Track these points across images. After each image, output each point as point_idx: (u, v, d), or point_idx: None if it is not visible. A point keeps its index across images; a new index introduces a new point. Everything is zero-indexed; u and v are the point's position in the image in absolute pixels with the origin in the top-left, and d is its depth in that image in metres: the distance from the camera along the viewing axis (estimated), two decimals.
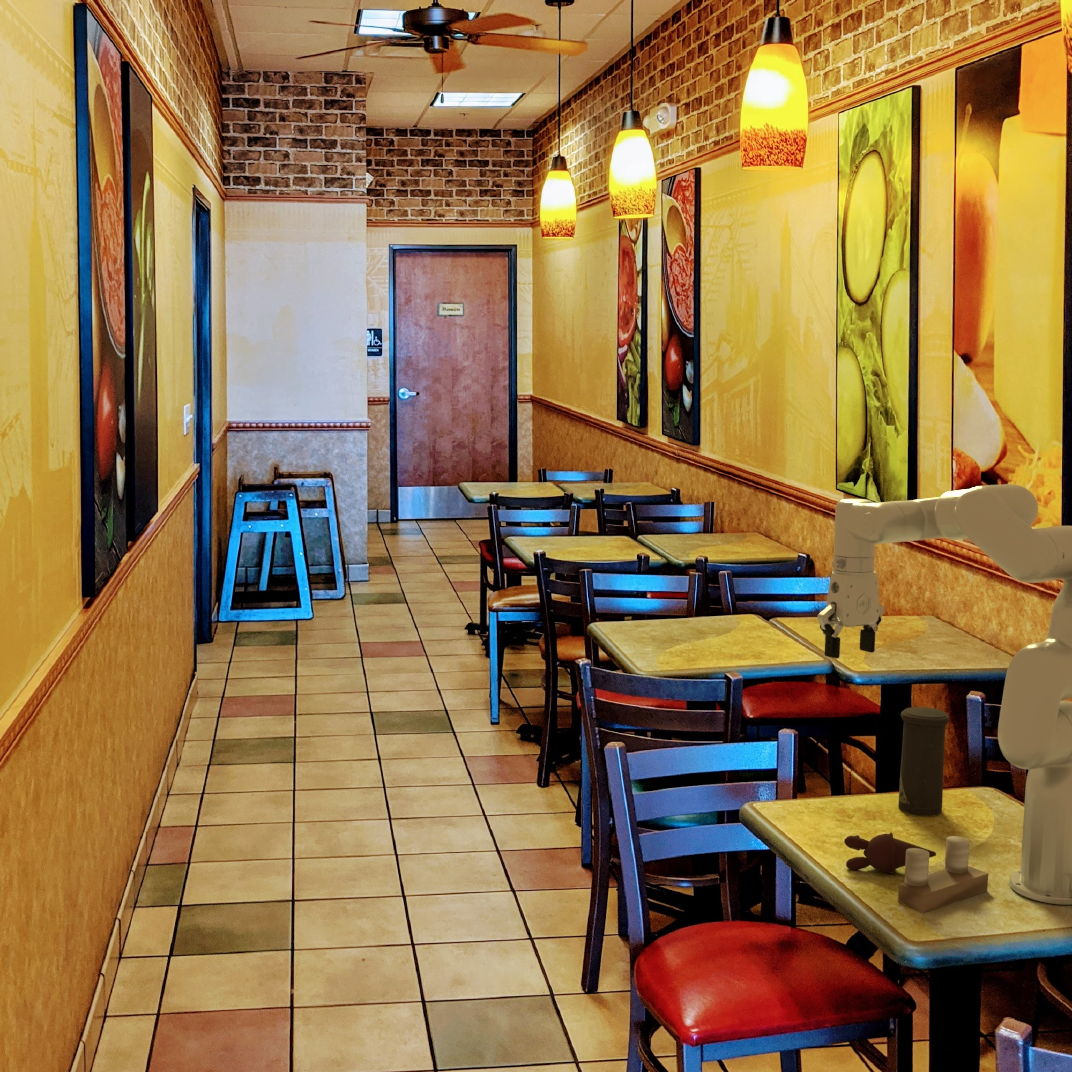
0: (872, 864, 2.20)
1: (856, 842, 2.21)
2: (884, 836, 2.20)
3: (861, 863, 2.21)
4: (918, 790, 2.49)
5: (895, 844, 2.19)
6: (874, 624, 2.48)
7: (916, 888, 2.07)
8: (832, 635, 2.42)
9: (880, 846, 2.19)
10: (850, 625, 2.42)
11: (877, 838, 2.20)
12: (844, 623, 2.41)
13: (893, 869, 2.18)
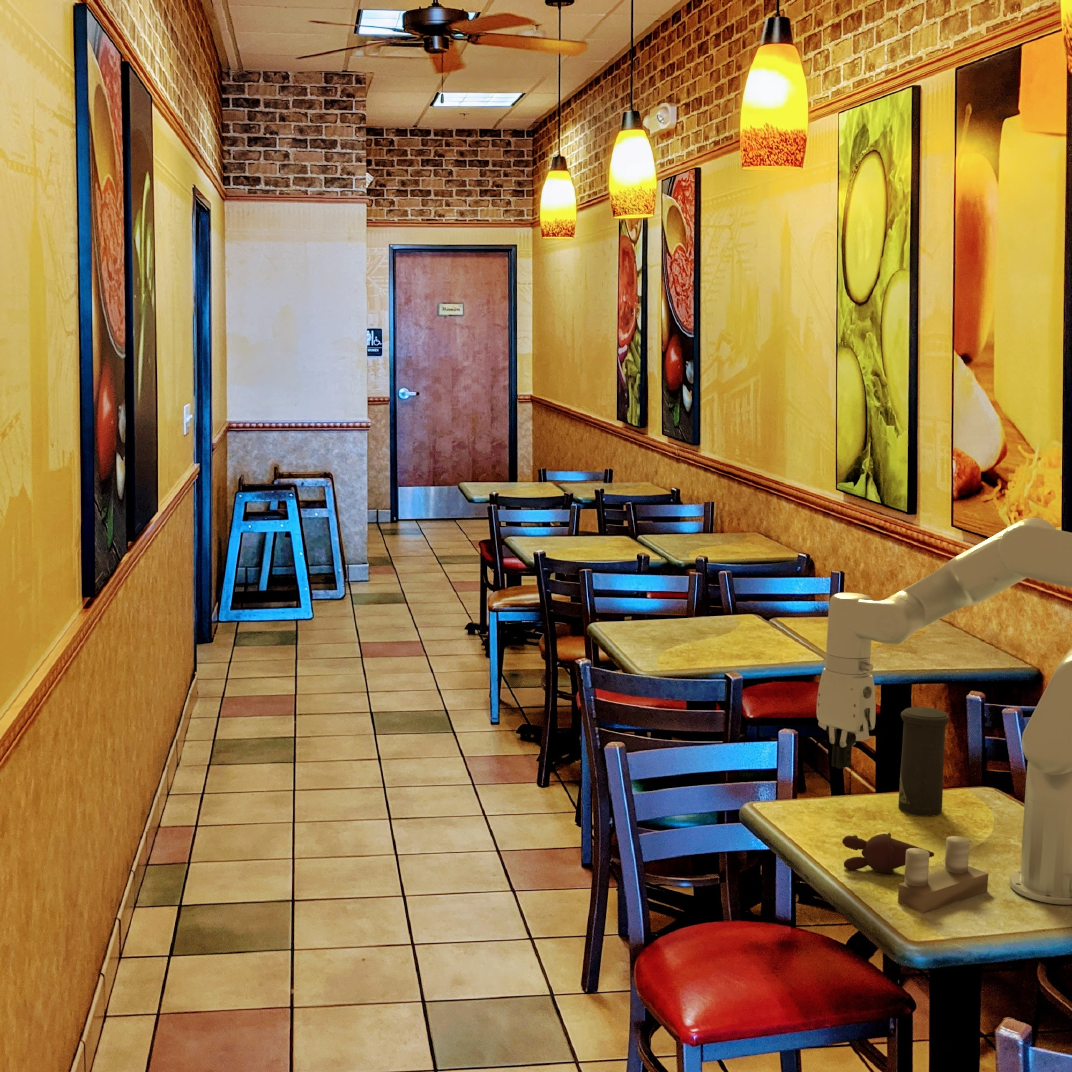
0: (870, 864, 2.20)
1: (854, 842, 2.21)
2: (882, 836, 2.20)
3: (859, 863, 2.21)
4: (918, 790, 2.49)
5: (893, 844, 2.19)
6: None
7: (916, 888, 2.07)
8: None
9: (878, 846, 2.19)
10: None
11: (875, 838, 2.20)
12: None
13: (891, 869, 2.18)
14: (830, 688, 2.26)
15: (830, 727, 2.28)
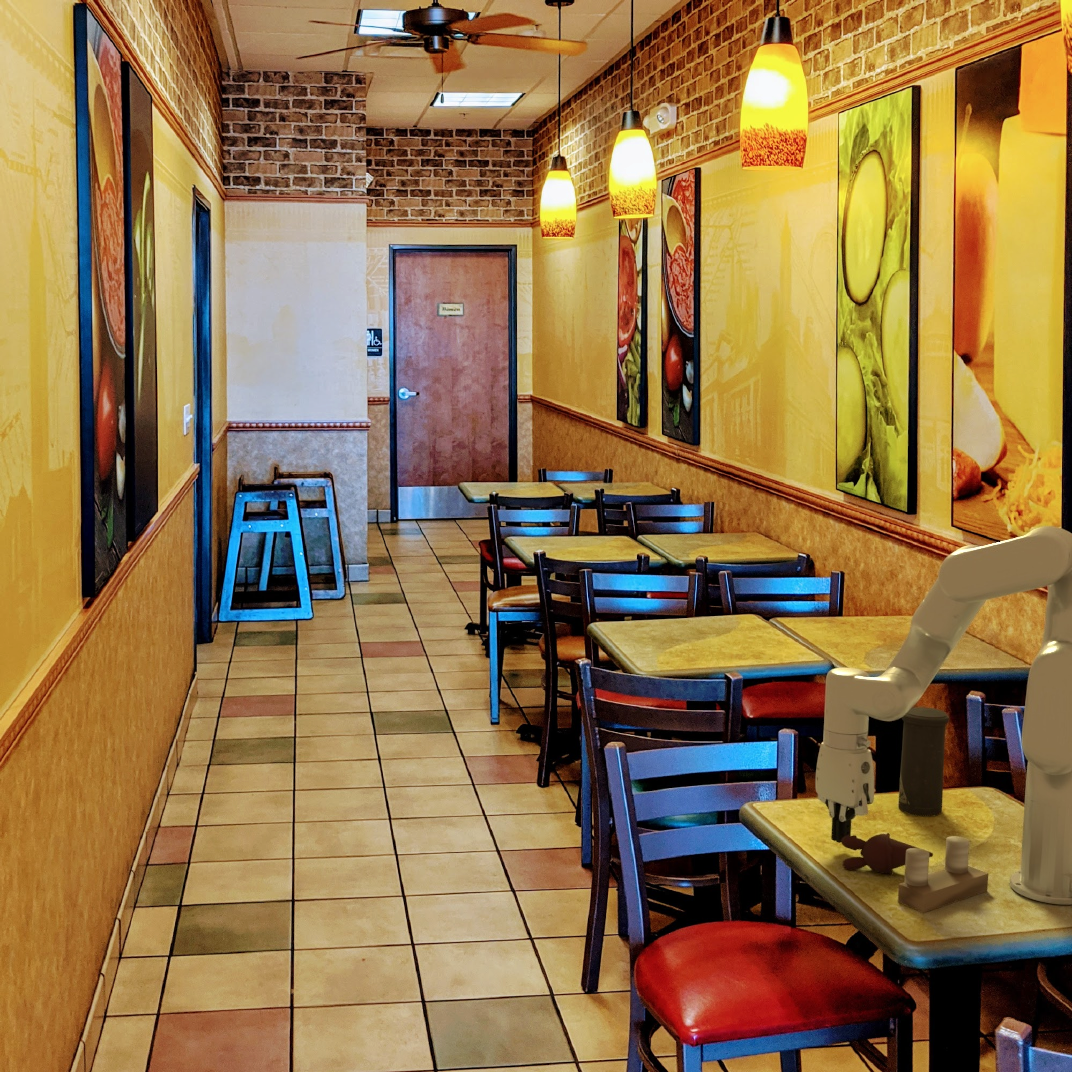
0: (868, 864, 2.20)
1: (852, 842, 2.21)
2: (881, 836, 2.20)
3: (857, 863, 2.21)
4: (918, 790, 2.49)
5: (891, 844, 2.19)
6: None
7: (916, 888, 2.07)
8: None
9: (877, 846, 2.19)
10: None
11: (874, 838, 2.20)
12: None
13: (889, 869, 2.18)
14: (828, 763, 2.28)
15: (829, 801, 2.30)
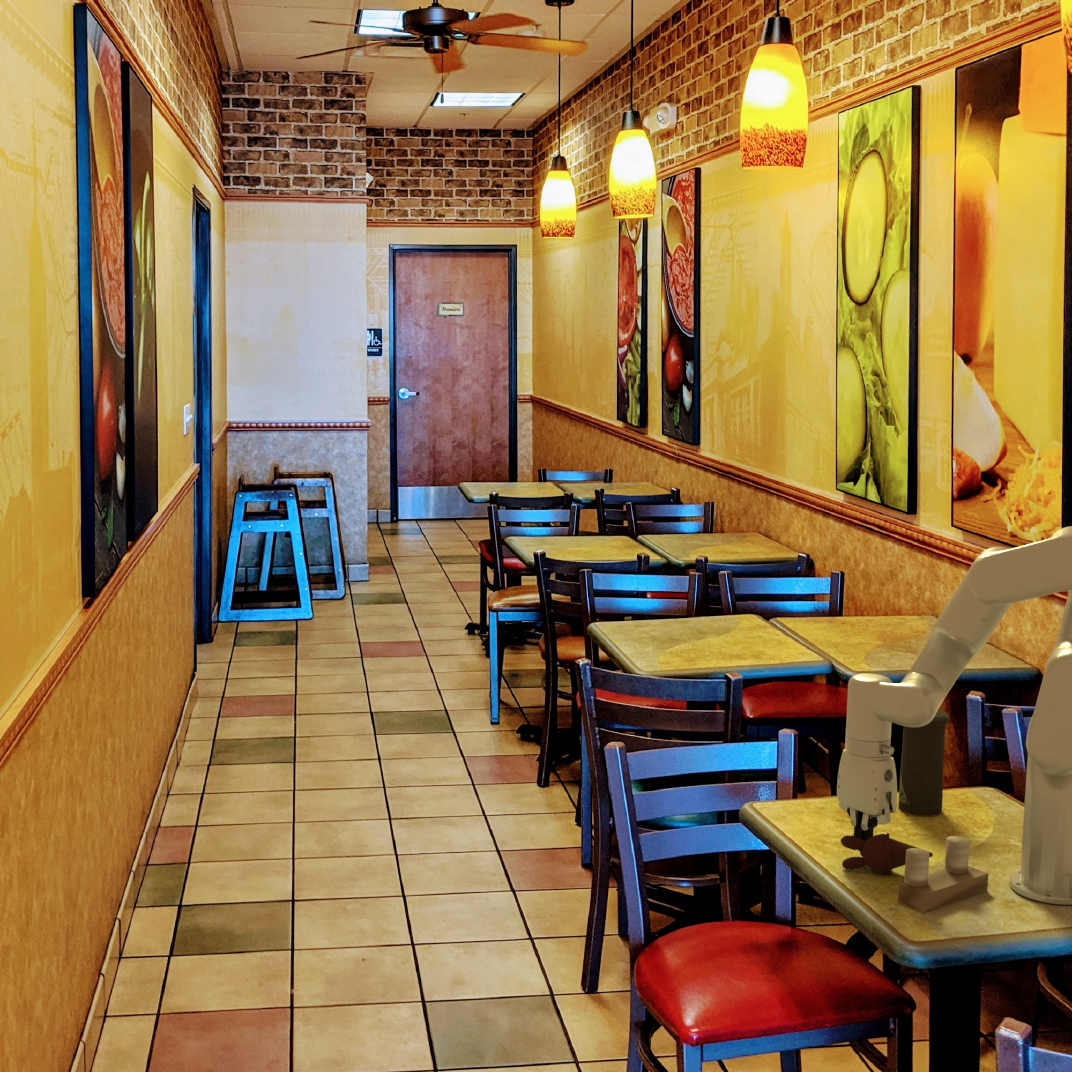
0: (868, 864, 2.20)
1: (852, 842, 2.21)
2: (880, 836, 2.20)
3: (857, 863, 2.20)
4: (918, 790, 2.49)
5: (891, 844, 2.19)
6: None
7: (916, 888, 2.07)
8: (874, 827, 2.25)
9: (876, 846, 2.18)
10: None
11: (873, 838, 2.20)
12: None
13: (889, 869, 2.18)
14: (850, 771, 2.24)
15: (851, 809, 2.26)
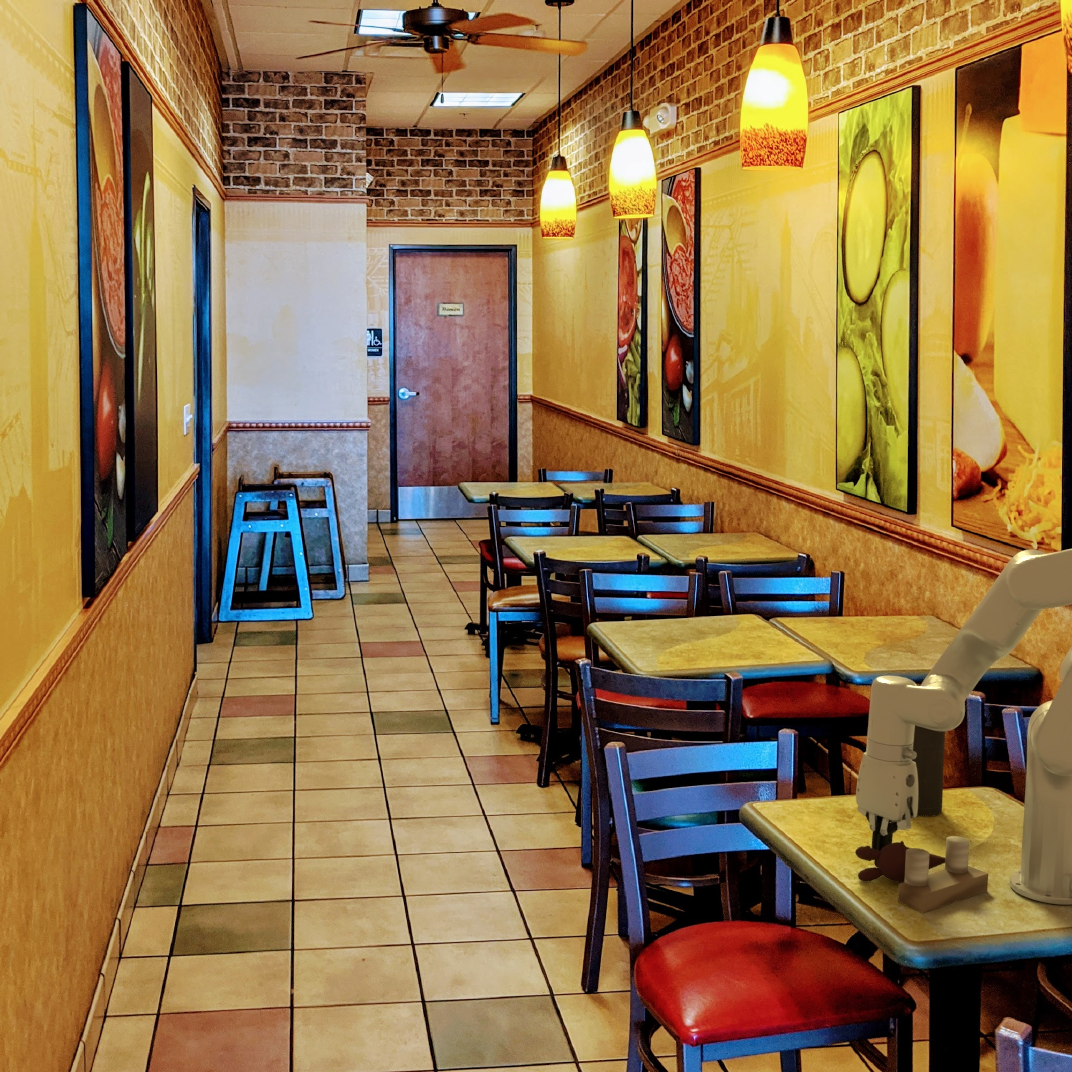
0: (886, 874, 2.15)
1: (868, 852, 2.16)
2: (896, 845, 2.16)
3: (874, 874, 2.16)
4: (918, 790, 2.49)
5: None
6: None
7: (916, 888, 2.07)
8: None
9: (895, 856, 2.14)
10: None
11: (889, 847, 2.16)
12: None
13: None
14: (871, 774, 2.19)
15: (870, 814, 2.21)
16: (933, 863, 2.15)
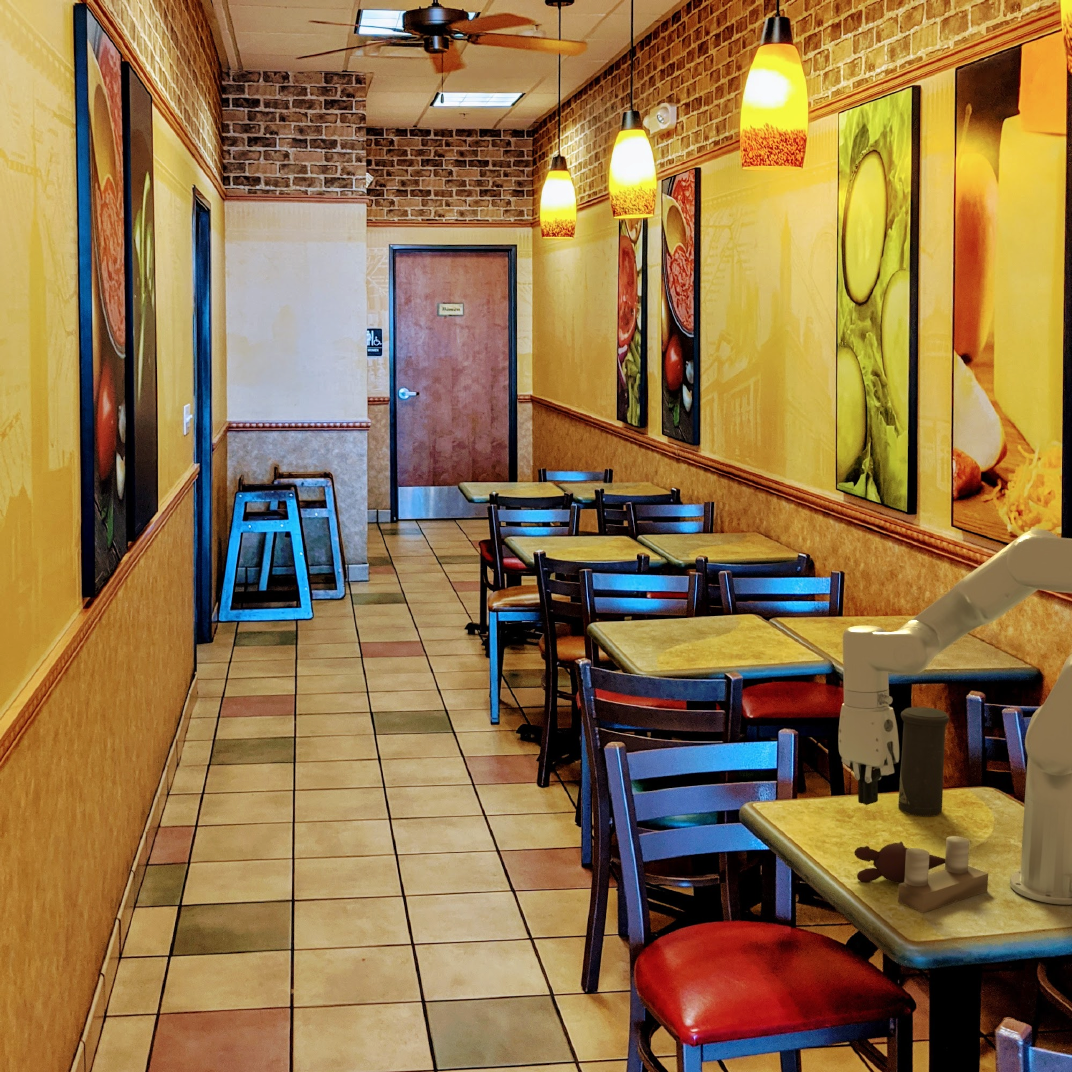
0: (885, 875, 2.15)
1: (867, 853, 2.16)
2: (895, 846, 2.16)
3: (873, 875, 2.16)
4: (918, 790, 2.49)
5: None
6: None
7: (916, 888, 2.07)
8: None
9: (894, 856, 2.14)
10: None
11: (888, 848, 2.16)
12: None
13: None
14: (850, 724, 2.23)
15: (854, 763, 2.25)
16: (932, 864, 2.15)
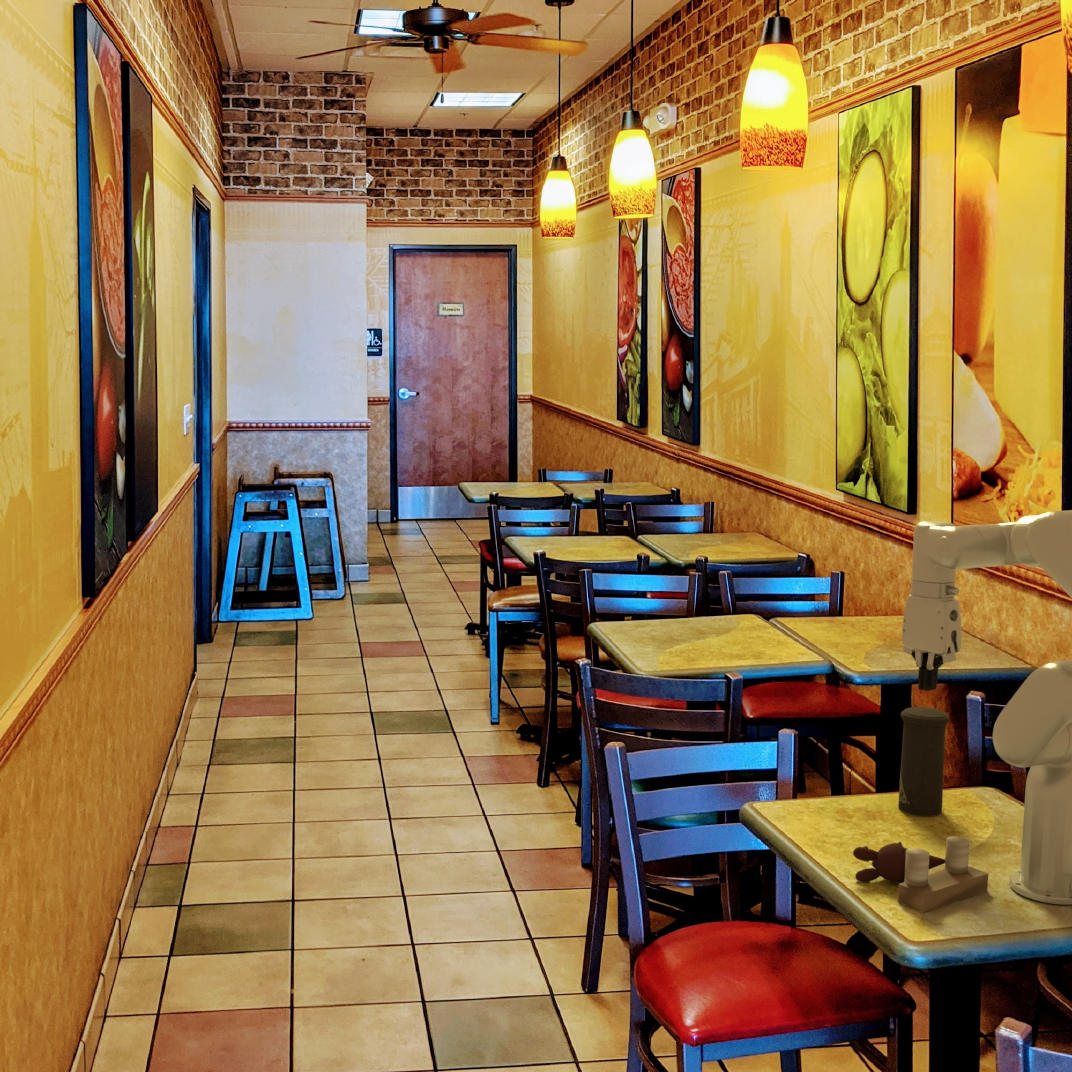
0: (883, 875, 2.15)
1: (866, 853, 2.16)
2: (894, 846, 2.16)
3: (872, 875, 2.16)
4: (918, 790, 2.49)
5: None
6: None
7: (916, 888, 2.07)
8: None
9: (892, 856, 2.14)
10: None
11: (887, 848, 2.16)
12: None
13: None
14: (916, 613, 2.35)
15: (916, 651, 2.37)
16: (931, 864, 2.15)
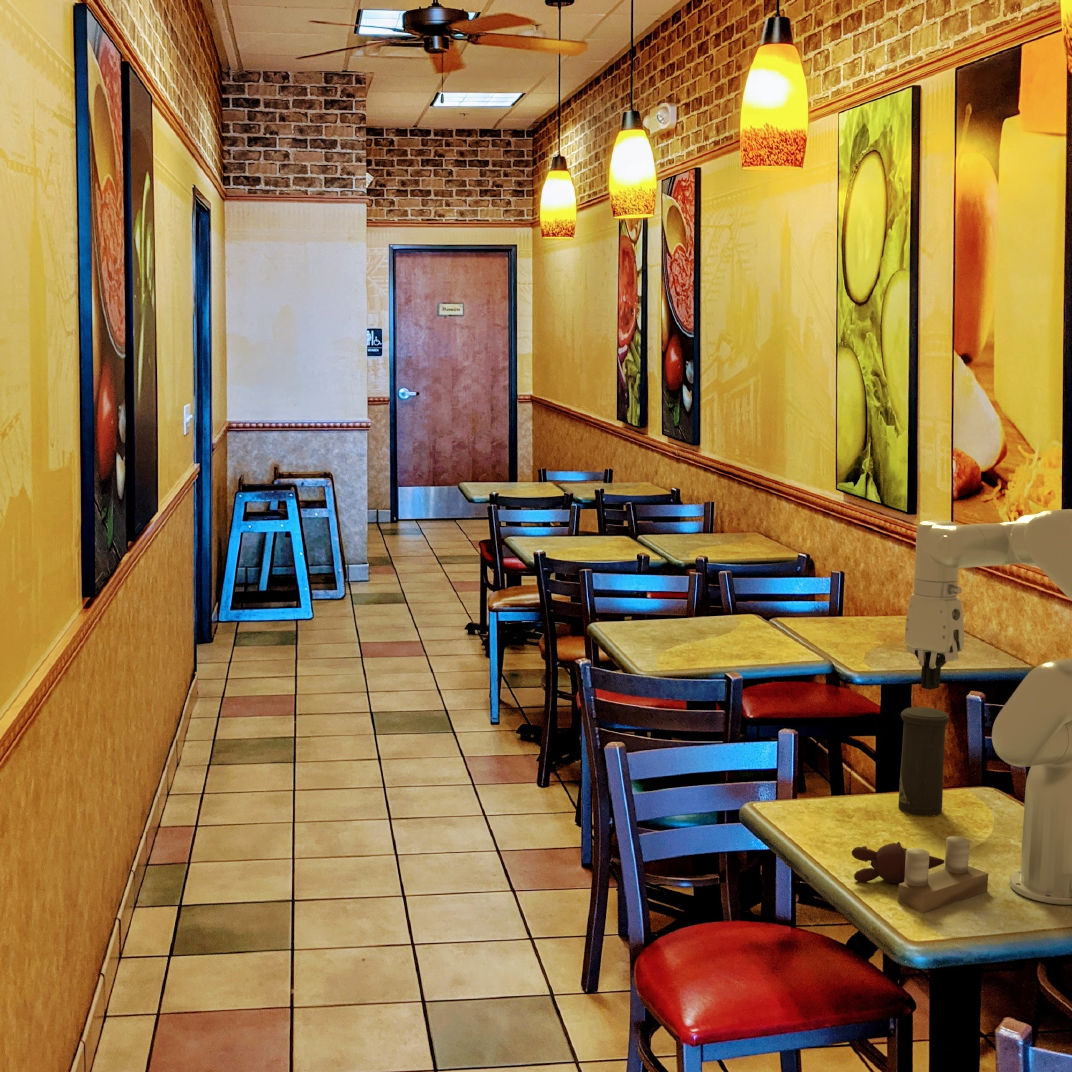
0: (882, 875, 2.15)
1: (864, 853, 2.16)
2: (893, 846, 2.16)
3: (870, 875, 2.16)
4: (918, 790, 2.49)
5: (905, 854, 2.15)
6: None
7: (916, 888, 2.07)
8: None
9: (891, 856, 2.14)
10: None
11: (886, 848, 2.16)
12: None
13: (904, 879, 2.14)
14: (919, 612, 2.36)
15: (919, 650, 2.38)
16: (930, 865, 2.15)
